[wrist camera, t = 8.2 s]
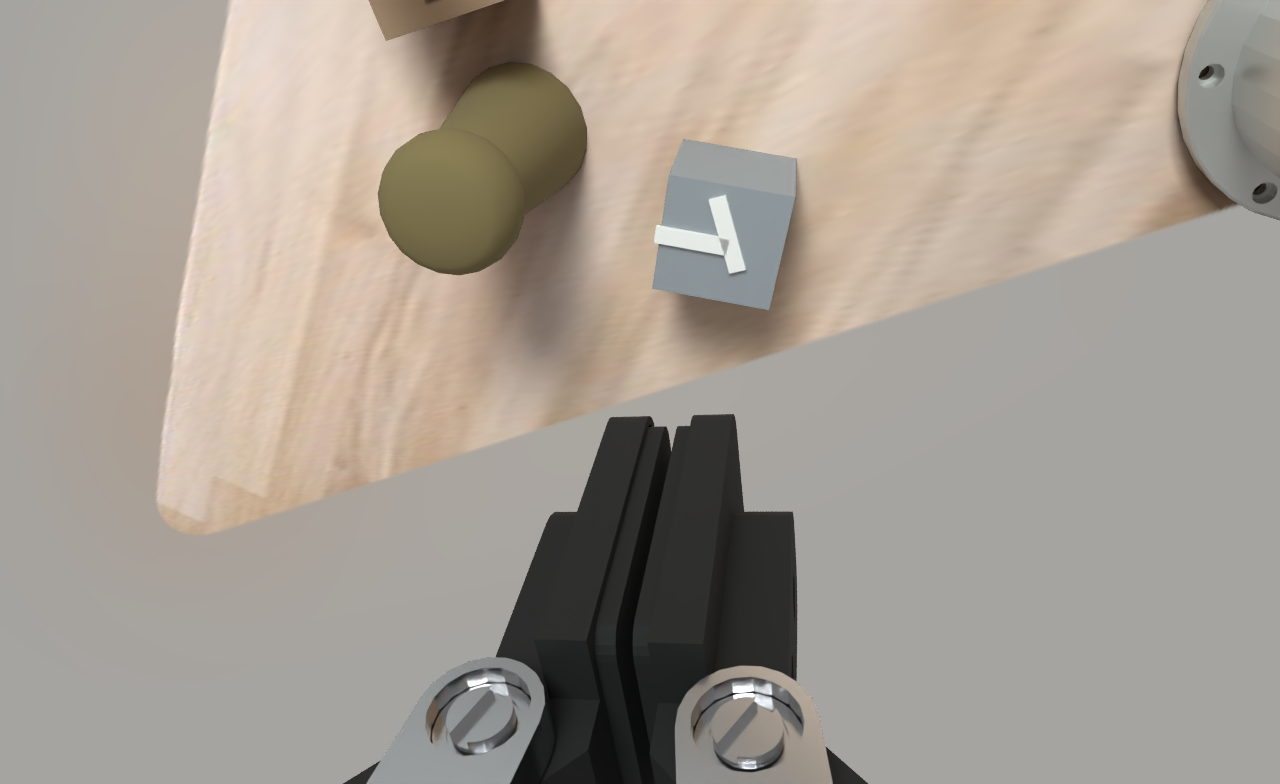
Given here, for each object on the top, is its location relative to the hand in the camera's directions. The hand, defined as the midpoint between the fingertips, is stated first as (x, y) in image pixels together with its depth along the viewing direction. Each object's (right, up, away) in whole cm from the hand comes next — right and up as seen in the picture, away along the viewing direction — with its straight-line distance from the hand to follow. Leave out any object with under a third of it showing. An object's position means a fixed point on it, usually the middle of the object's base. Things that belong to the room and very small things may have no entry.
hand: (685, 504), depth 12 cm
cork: (-6, +13, +28) cm, 31 cm away
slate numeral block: (+3, +10, +28) cm, 30 cm away
